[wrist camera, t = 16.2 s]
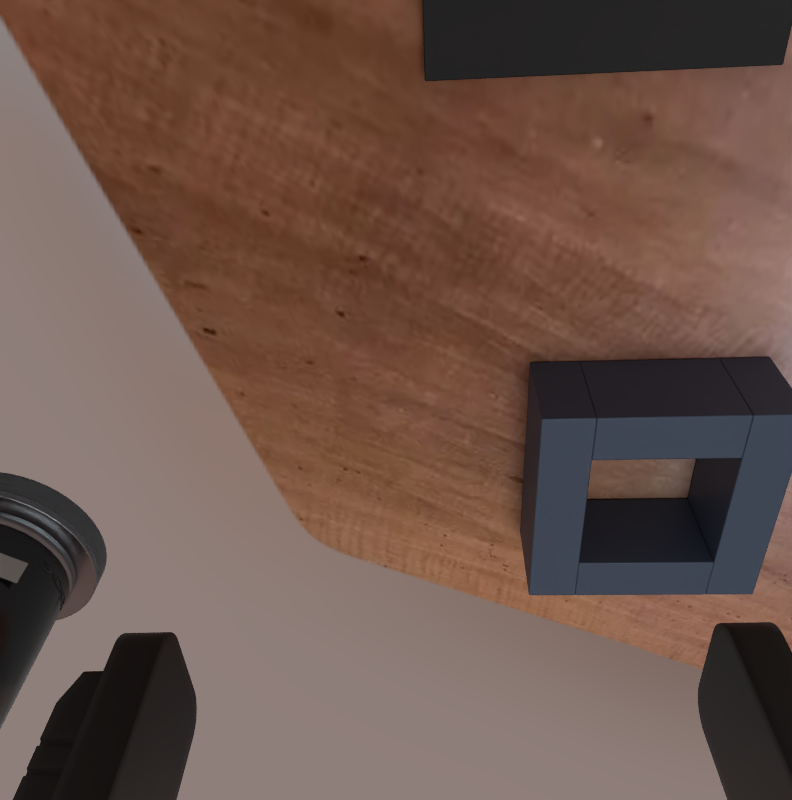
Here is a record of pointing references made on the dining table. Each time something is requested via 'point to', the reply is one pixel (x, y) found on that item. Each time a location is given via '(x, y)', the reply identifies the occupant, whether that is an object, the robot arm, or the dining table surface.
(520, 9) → the mat
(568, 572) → the holder
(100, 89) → the dining table surface
